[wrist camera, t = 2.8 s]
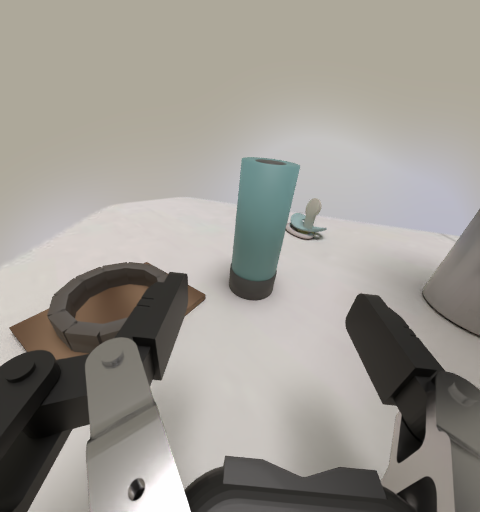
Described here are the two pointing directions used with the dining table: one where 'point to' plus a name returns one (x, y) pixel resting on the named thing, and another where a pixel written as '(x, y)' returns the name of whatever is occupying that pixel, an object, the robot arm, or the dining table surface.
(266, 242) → the teal cylinder
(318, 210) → the pacifier
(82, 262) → the dining table surface
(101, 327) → the socket
